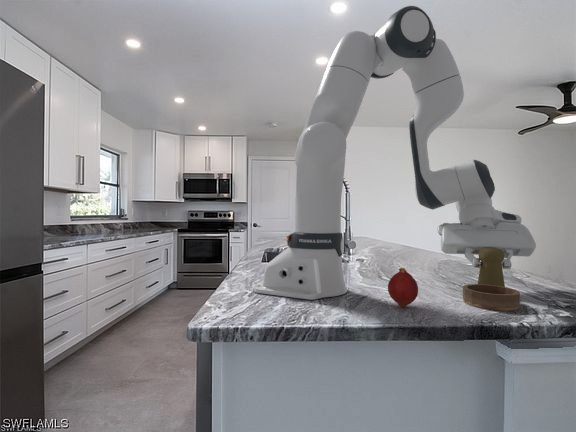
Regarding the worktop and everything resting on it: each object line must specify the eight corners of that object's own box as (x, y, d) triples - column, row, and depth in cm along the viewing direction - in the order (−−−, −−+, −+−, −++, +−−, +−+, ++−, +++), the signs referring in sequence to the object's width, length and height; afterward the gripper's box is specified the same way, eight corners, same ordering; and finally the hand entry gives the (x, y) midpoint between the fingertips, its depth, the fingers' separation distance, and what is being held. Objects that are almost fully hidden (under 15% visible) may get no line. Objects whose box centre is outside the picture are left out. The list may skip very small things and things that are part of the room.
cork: (511, 298, 73) (511, 249, 73) (481, 296, 74) (482, 248, 74) (499, 292, 79) (499, 246, 79) (472, 290, 80) (472, 246, 80)
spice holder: (470, 308, 65) (470, 293, 65) (458, 296, 74) (458, 282, 74) (528, 312, 62) (528, 296, 62) (508, 299, 72) (508, 285, 72)
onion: (393, 301, 70) (393, 264, 70) (421, 306, 66) (421, 267, 66) (383, 307, 65) (384, 267, 65) (413, 313, 62) (413, 270, 62)
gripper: (438, 215, 86) (445, 256, 76) (527, 215, 81) (547, 260, 71) (435, 231, 90) (441, 272, 81) (519, 232, 85) (537, 277, 75)
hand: (492, 266), depth 76 cm, fingers closed on cork, 5 cm apart
